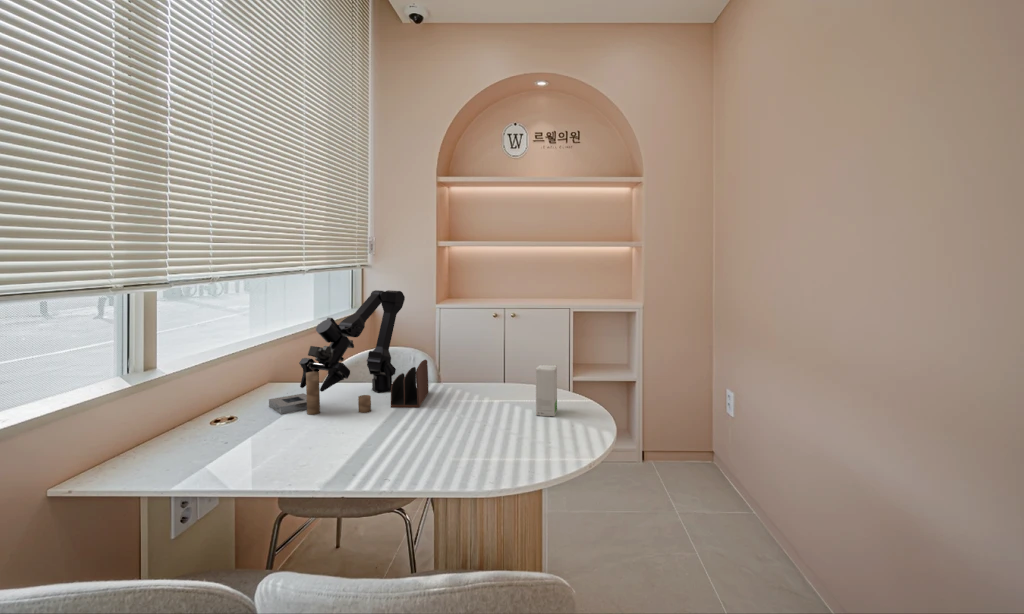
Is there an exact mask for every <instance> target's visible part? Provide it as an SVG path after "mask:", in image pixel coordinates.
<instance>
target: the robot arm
mask: <svg viewBox="0 0 1024 614" xmlns="http://www.w3.org/2000/svg"><path fill="white" fill-rule="evenodd" d="M405 298H406V297H405V295H404V293H403V292H402V291H401V290H377V289H376V290H372V291H371V293H370V294H369V296H368V298H366V299H365V301H364V302H363V303H362V304H361V305H360V306H359V307H358V308H357V310H356V311H355V312H354V313H353V314H351V315H349V316H347V317H345V318H344V319H343V320H342V321H340V322H339V323H338V324H337V322H336V321H335V319H334V318H333V317H327V318H326V319H325V320H322V321H321V322H320V323H318V324H317V326H316V328H315V331H316V332H317V334H318V335H319V336H320V337H321V338H322V339H323V341H325V342H326V343H330V344H329V345H324V346H323V347H320V346H315V345H310V347H309V350H308V353H307V356H308V357H303V358H301V359H300V360H299V362H298V363H299V366H300V368H302V376H301V377H302V378H301V379H300V380H301V381H300V383H299V384H300V385H299V387H300V389H304V388H306V373H307V372H319V371H325V372H327V376H326V378H325V380H323V383H322V384H321V385H320V386H321V387H319V392H321V393H322V392H325V391H327V389H329V388H331V387H332V386H333V385H335V384H338V383H340V382H341V381H344V380H345V379H349V377H350V375H351V370H350V369H349V368H348V367H347V365H346V364H344V362H343V361H344V359H345V358H344V357H343V356H345V355H344V354H345V353H346V351H347V350H348V348H349V349H354V348H355V345H354V340H352V339H349V338H358V337H360V336H361V335H362V332H363V331H364V329H365V328H366V327H365V325H366V322H367V321H368V319H369V318H370V317H371V316H372V315H373V314H374V313H375V311H376V310H377V309H378V307H379V306H380V305H381V308H382V310H383V313H382V318H381V323H380V328H379V332H378V336H377V339H376V340H377V341H376V345H375V347H374V349H373V350H369V351H368V355H367V358H366V366H367V369H368V371H369V375H372V377H373V378H372V382H371V383H372V384H371V385H372V386H371V387H372V388H371V390H372V391H374V392H376V393H386V392H391V385H392V383H393V376H394V375H396V372H397V369H396V368H395V366H394V365H393V364H392V356H391V353H390V346H391V341H392V336H393V333H394V328H395V324H396V323H395V322H396V318H397V315H398V313H399V312H400V311H401V309H402V308H403V306H404V303H405ZM310 357H312V358H310ZM313 358H314V359H313ZM317 362H318V363H317Z"/></svg>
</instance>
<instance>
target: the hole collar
mask: <svg viewBox="0 0 1024 614" xmlns="http://www.w3.org/2000/svg"><path fill="white" fill-rule="evenodd" d="M268 407H269V408H271V409H272V410H273V411H276V412H277V413H278V414H279V415H284V414H286V415H287V414H291V413H294V412H300V411H307V410H306V409H307V394H306V393H304V392H303V393H297V394H292V395H286V396H281V397H275V398H269V399H268Z"/></svg>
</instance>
